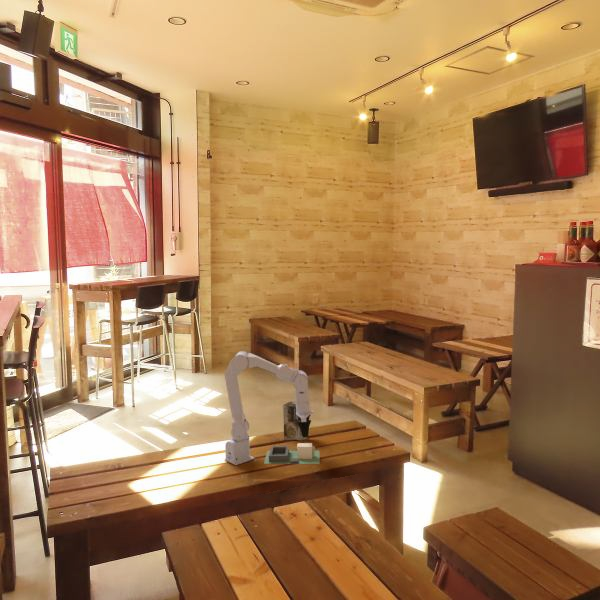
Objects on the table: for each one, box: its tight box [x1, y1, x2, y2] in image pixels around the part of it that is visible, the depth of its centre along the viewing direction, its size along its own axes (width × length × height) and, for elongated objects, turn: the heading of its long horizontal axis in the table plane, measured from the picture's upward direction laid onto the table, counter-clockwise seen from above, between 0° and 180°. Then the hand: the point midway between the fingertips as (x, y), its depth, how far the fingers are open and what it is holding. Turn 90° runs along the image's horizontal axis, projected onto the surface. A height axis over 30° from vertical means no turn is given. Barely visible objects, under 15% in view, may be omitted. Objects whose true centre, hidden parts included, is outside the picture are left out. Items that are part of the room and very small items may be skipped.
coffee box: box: [282, 401, 308, 441], centre depth 226 cm, size 9×6×16 cm
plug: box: [296, 442, 316, 459], centre depth 202 cm, size 7×4×5 cm, turn 88°
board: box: [263, 445, 320, 465], centre depth 202 cm, size 22×14×4 cm, turn 88°
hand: (305, 433), depth 202 cm, fingers open, 7 cm apart
